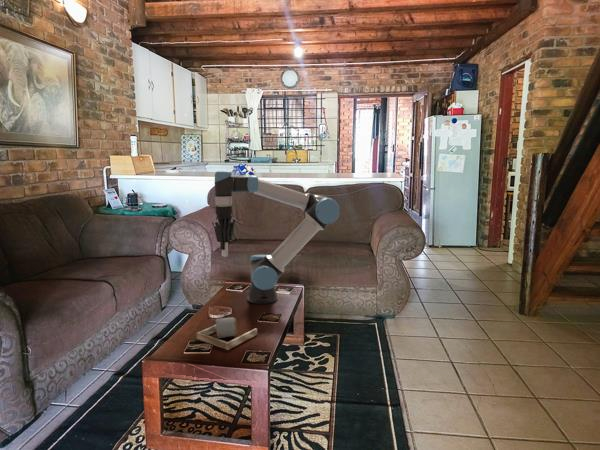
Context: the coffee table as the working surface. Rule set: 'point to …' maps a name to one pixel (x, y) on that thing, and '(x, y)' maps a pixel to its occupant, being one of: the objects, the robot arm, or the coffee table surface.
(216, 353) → the coffee table surface
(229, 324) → the tilted grey cube
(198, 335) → the u-shaped bracket
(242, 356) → the coffee table surface
